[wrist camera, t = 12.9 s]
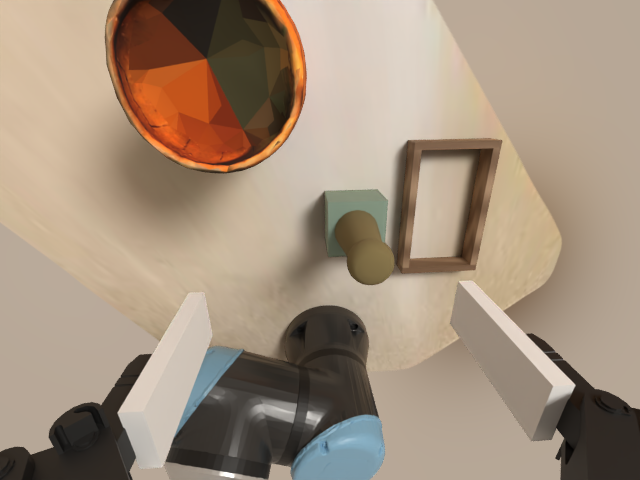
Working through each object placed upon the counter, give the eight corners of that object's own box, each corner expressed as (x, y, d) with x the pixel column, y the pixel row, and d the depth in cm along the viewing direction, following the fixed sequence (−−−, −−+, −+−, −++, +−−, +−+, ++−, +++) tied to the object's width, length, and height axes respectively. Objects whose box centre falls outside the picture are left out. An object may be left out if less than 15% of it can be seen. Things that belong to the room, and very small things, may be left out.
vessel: (301, 153, 44) (297, 185, 25) (198, 141, 43) (114, 165, 24) (312, 34, 38) (317, -37, 20) (194, 16, 37) (82, -76, 19)
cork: (325, 235, 42) (333, 275, 32) (353, 201, 41) (371, 232, 31) (359, 258, 44) (376, 303, 34) (387, 226, 42) (414, 263, 32)
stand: (374, 238, 50) (384, 254, 44) (325, 240, 49) (328, 256, 44) (377, 189, 46) (387, 200, 41) (324, 191, 46) (327, 202, 41)
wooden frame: (466, 261, 52) (475, 270, 50) (396, 264, 52) (401, 273, 49) (489, 138, 44) (502, 140, 42) (408, 140, 44) (415, 142, 41)
